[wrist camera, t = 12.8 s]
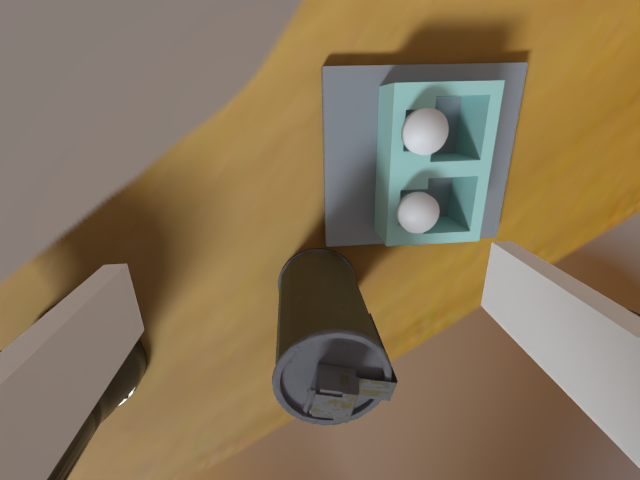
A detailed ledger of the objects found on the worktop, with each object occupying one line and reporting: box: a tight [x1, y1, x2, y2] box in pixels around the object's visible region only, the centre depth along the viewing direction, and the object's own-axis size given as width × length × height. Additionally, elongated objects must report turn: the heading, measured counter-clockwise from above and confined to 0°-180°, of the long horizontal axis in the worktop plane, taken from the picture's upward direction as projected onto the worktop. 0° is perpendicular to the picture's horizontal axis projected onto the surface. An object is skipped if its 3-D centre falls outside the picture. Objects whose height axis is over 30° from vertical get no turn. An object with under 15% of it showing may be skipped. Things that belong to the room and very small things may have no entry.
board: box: [321, 62, 528, 247], centre depth 36 cm, size 22×20×9 cm
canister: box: [272, 249, 398, 425], centre depth 36 cm, size 11×10×20 cm
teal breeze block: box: [374, 80, 505, 246], centre depth 36 cm, size 10×16×6 cm, turn 1°
